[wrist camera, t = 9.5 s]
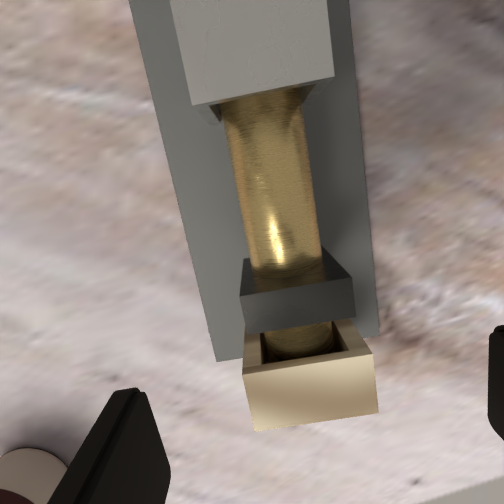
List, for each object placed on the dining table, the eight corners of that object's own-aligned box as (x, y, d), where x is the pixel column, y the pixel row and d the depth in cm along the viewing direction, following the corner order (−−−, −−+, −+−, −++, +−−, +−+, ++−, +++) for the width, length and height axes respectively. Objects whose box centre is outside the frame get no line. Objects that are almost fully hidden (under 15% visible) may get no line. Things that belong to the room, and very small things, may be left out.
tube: (207, 77, 18) (182, 26, 12) (296, 59, 18) (320, -3, 11) (261, 350, 22) (265, 421, 16) (334, 339, 22) (366, 405, 16)
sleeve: (192, 18, 19) (150, -87, 11) (288, -3, 19) (313, -126, 11) (215, 130, 20) (192, 105, 13) (303, 112, 20) (334, 76, 12)
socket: (245, 308, 24) (242, 374, 16) (333, 294, 23) (372, 353, 16) (254, 350, 25) (254, 431, 17) (338, 336, 24) (378, 413, 16)
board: (124, -36, 19) (117, -47, 18) (335, -84, 18) (339, -98, 17) (218, 355, 26) (216, 362, 25) (374, 329, 25) (379, 335, 24)
